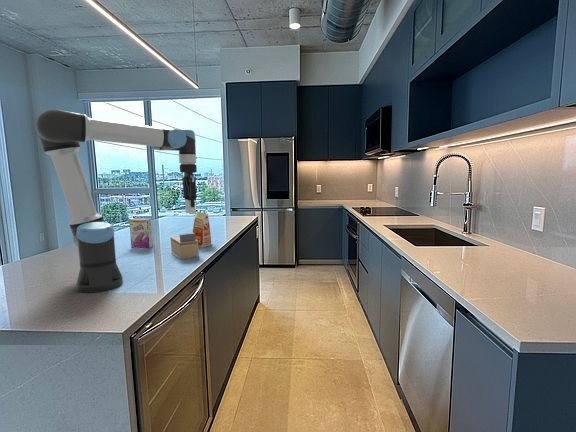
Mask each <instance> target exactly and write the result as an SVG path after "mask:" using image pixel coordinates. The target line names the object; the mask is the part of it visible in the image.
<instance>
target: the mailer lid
mask: <svg viewBox="0 0 576 432" xmlns="http://www.w3.org/2000/svg"><path fill="white" fill-rule="evenodd" d="M171 239H172V240H173V241H175V242H176V243H178V244H180V245H182V244H189V243H197V242H198V240H196V239H195V233H193V232H188V233H180V234H179V235H177V236H170V240H171Z"/></svg>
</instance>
